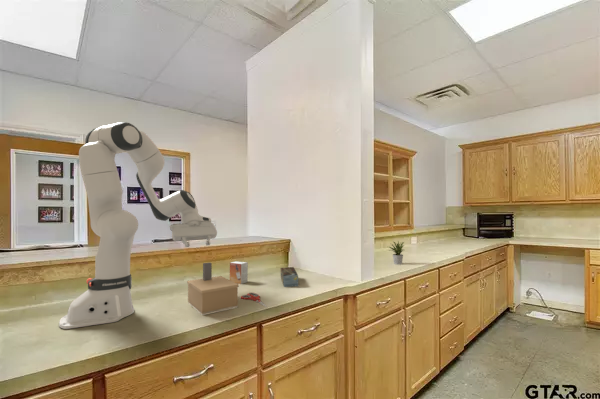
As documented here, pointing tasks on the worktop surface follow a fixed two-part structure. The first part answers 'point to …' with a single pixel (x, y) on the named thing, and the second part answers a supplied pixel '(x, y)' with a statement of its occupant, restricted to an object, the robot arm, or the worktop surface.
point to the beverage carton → (289, 277)
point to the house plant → (397, 253)
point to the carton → (213, 300)
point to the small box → (239, 272)
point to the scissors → (253, 298)
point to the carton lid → (211, 281)
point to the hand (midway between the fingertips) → (198, 245)
